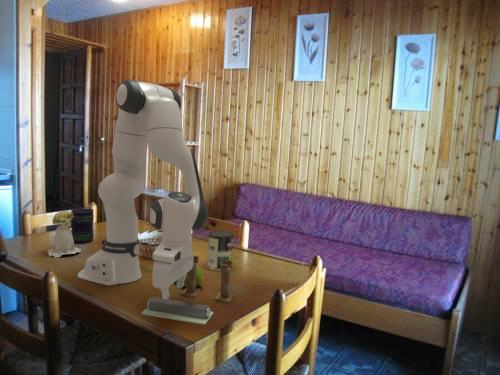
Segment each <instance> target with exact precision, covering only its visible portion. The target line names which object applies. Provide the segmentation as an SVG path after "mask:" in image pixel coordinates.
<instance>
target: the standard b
mask: <svg viewBox="0 0 500 375" xmlns="http://www.w3.org/2000/svg"><path fill="white" fill-rule="evenodd" d="M232 267H233V259H232V260H225V264H221V266H220V273H221V276H220V278H221V279H220V291H219V292H218V294H217V295H216V296H215V298H214V301H215V302H222V303H228V304H230V303H231V301H232V300H233V299H234V297H235V293H231V292H230V287H231V270H232ZM228 268H231V269H228Z"/></svg>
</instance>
